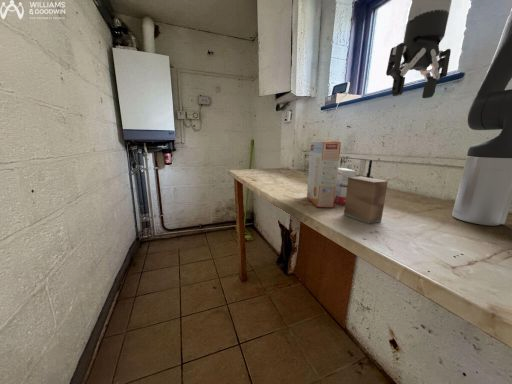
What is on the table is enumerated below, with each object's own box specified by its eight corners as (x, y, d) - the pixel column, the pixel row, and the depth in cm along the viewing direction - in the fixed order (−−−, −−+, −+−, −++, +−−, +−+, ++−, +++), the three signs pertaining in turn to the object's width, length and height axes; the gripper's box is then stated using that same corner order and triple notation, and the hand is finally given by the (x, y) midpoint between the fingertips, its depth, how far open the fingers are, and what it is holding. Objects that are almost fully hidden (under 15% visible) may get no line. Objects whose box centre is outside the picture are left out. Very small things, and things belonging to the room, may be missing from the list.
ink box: (353, 205, 69) (357, 170, 66) (338, 204, 69) (342, 170, 66) (343, 198, 77) (346, 167, 75) (330, 198, 77) (333, 167, 75)
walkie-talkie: (359, 200, 75) (365, 159, 71) (369, 201, 73) (376, 159, 70) (359, 203, 70) (365, 160, 67) (370, 205, 69) (377, 160, 65)
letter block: (356, 212, 62) (361, 176, 59) (381, 221, 54) (387, 181, 52) (343, 214, 60) (348, 177, 57) (368, 224, 52) (374, 182, 50)
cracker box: (335, 208, 65) (342, 141, 60) (316, 208, 65) (321, 141, 60) (321, 197, 79) (326, 141, 74) (306, 196, 79) (310, 141, 74)
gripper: (436, 31, 50) (422, 101, 54) (385, 24, 48) (375, 98, 52) (472, 12, 43) (453, 95, 47) (414, 3, 41) (399, 90, 44)
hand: (412, 96), depth 49 cm, fingers open, 8 cm apart
